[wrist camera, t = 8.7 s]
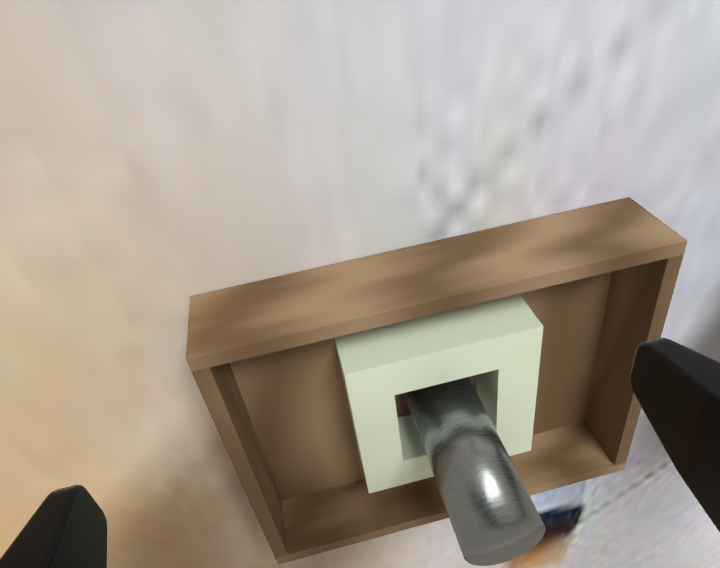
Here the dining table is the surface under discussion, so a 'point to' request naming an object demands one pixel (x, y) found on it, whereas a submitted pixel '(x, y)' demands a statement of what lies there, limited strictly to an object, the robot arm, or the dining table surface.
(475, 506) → the peg
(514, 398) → the bore plate
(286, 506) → the crate
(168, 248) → the dining table surface
